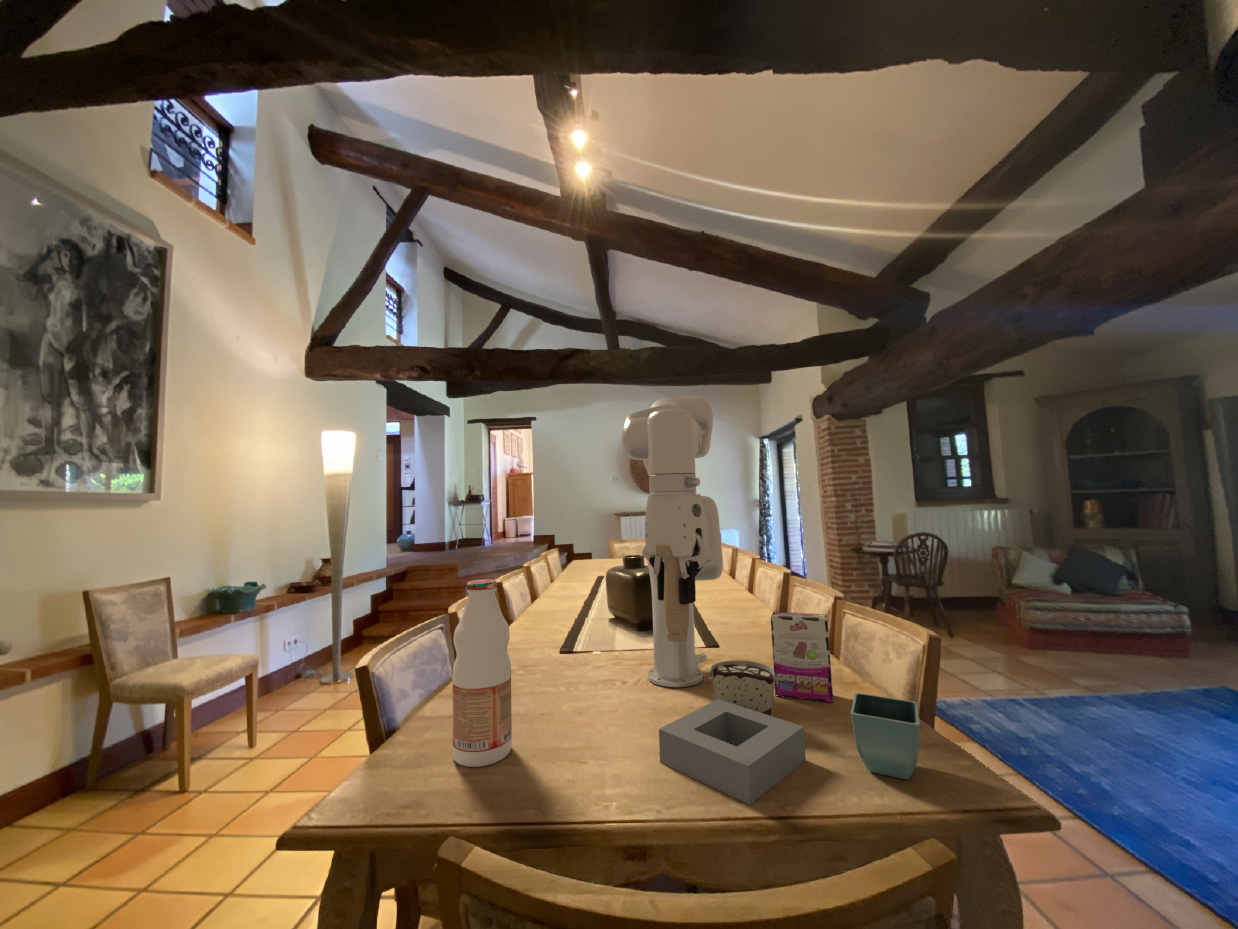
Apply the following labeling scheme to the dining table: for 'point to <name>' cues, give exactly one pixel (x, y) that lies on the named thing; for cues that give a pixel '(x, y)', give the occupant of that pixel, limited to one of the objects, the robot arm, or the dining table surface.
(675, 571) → the handle
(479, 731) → the fruit juice
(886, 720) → the flower pot
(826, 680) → the candy bar box
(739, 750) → the well block
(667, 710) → the dining table surface
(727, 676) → the food container
